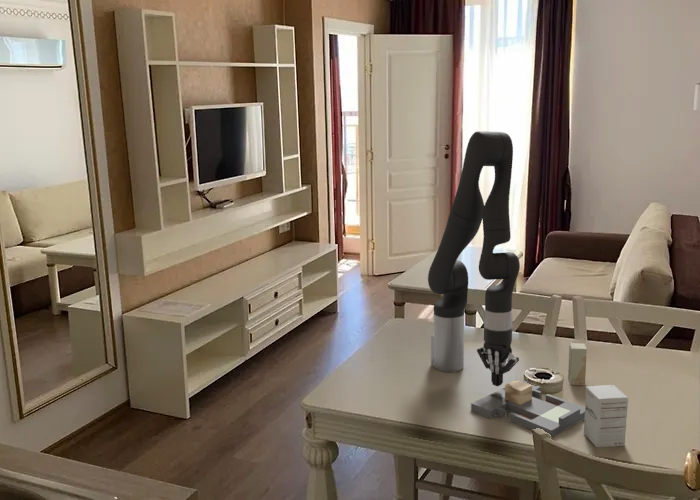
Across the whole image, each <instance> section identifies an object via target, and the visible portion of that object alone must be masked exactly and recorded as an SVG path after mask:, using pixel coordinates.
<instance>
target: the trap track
mask: <svg viewBox="0 0 700 500" xmlns="http://www.w3.org/2000/svg"><path fill="white" fill-rule="evenodd" d="M519 381H521V382H524V383H527V382H528V381H526V380H522V379H520V380H519ZM529 383H530V382H529ZM529 383H527V384H529ZM531 384H532V383H531ZM531 384H530V385H531ZM534 385H535V384H534ZM534 385H532V399H531V400H529V401H527V402H525V403H523V404H521V405H519V404H516V403H514V402H511V401H509V400H506V399H505V387H504V388H501V389H499V390H497V391H494V392H493V393H490V394H488V395H486V396H484V397H482V398H479V399H478V400H474V401H473V402H471V403H470V410H471V411H472V412H474V413H476V414H479V415H480V416H484V417H486V418H488V419H493V418H495V417H496V416H498V417H500V418H502V419H503V418H506V411H508V412H509V413H508V414H509V415H508V416H509V417H508V418H509V419H508V420H509V422H512V423H514V424H516V425H519V426H521V427H523V428H525V429H526V428H527V429H529V430H531V431H533V430H532V429H536V428H540V429H543V430H544V431H545V432H547V433H549V434H550V435H551V437H552V438H554V437H555V436H557V435H559V434H561V433H563V432H564V431H565V430H568V429H570V428H571V427H572V426H574V425H576V424H578V423H580V422H581V421H583V420H584V418H585V406H583V405H579V404H577V403H575V402H572V401H569V400H567V399H563V398H561V397H558V396H555V395H552V394H550V393H549V394H548V393H547V394H546V395H545V400H542V391H541V388H542V387H541V386H539V385H537V386H534Z"/></svg>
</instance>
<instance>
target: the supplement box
mask: <svg viewBox="0 0 700 500" xmlns="http://www.w3.org/2000/svg"><path fill="white" fill-rule="evenodd" d="M628 404H629V397H628V396H627V395H626V394H625V393H624V392H623V391H622V390H620V389H619V388H618V387H617V385H614V384H605V385H603V384H602V385H590V386H586V388H585V404H584V407H585V418H584V419H583V420H584V421H583V422H584V424H583V434H584V435H585V436H586V437H587V438H588V439H589V441H591V443H592V444H593V445H594V447H596V448H609V447H623V446H625V444H626V432H627V431H626V430H627V418H628V407H629V405H628Z"/></svg>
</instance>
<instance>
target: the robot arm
mask: <svg viewBox="0 0 700 500" xmlns="http://www.w3.org/2000/svg"><path fill="white" fill-rule="evenodd" d="M513 145H514V144H513V140H512V138H511V136H510V135H509V134H508V133H506V132H504V131H503V132H502V131H489V130H488V131H486V130H477V131H474V133H473V134H472V135H471V136H470V138H469V140H468V143H467V145H466V149H465V155H464V159H463V164H462V170H461V174H460V178H459V183H458V187H457V190H456V193H455V195H454V196H455V197H454V199H453V203H452V205H451V209H450V211H449V214H448V218H447V221H446V225H445V229H444V232H443V234H442V237H441V240H440V243H439V246H438V248H437V251H436V253H435V255H434V258H433V260H432V263H431V265H430V267H429V271H428V275H427V283H428V288H429V289H430V291H431V292H433V293H434V294H436V295H442V296H441V297H440V299H439V300H437V301H436V302H435V303H434V305H433V334H432V335H431V336H430V366H433V368H434V369H435V370H437V371H440V372H447V373H455V372H459V371H461V370H463V369H464V363H465V362H464V361H465V359H464V357H465V352H464V350H465V311H466V310H465V309H466V307H467V304H468V291H469V273H468V269H467V267H466V265H465V264H464V263H463V261H460V260H458V258H459V256H460V255H461V253H463V251H464V250H465V249H466V248H467V246H469V244H470V243H472V241H473V239H474V238H475V237H476V235H477V234H478V232H479V229H480V227H481V224H482V231H483V238H482V239H483V241H482V247H481V248H482V249H481V253H480V256H479V257H480V258H479V262H478V271H479V274H480V276H481V278H482V279H483V280H486V281H487V280H489V281H491V280H492V281H494V280H501V282H500V283H498V284H496V285H493V286H489V287H488V288H487V289H486V290H485V296H484V299H485V300H484V315H483V342H484V343H483V346H482V347H479V348H477V349H476V352H477V354H478V356H479V358H480V360H481V362H482V363H483V365H484V368H485V369H489V371H490V373H491V383H492V386H494V387H500V386H501V385H502V384H503V383H504V374H506V373H509V372H510V371H511V370H512V369H513V368H514V367H515V365H516V364H517V363H519V361H520V358H519V357H517V356H515V354H513V349H512V347H511V345H512V342H513V312H512V311H513V310H512V306H513V304H512V303H513V294H514V290H515V285H516V281H517V279H518V276H519V271H520V267H521V266H520V265H521V264H520V263H521V262H520V259H519V257H518V256H517V255H516V254H515V253H514V252H507V251H506V252H494V249H495V247H496V246H499V245H503V244H507V243H509V242H510V241H511V237H512V236H511V224H510V223H511V221H510V193H511V181H512V171H513V160H514V146H513ZM484 167H494V168H493V169H494V181H493V185H492V188H491V190H490V192H489V194H488V196H487V199H486V200H485V202H484V199H483V196H482V193H481V191H480V184H479V182H480V177H481V173H482V170H483V169H484Z"/></svg>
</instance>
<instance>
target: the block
mask: <svg viewBox="0 0 700 500" xmlns="http://www.w3.org/2000/svg"><path fill="white" fill-rule="evenodd" d="M504 388H505V399H506V400H509V401H511V402H514V403H516V404H519V405H521V404H523V403H525V402H527V401H529V400H531V399H532V385H530V384H527V383H524V382H521V381H520V380H518V379H516V380H514V381H511V382H509V383H507V384H505V386H504Z"/></svg>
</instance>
